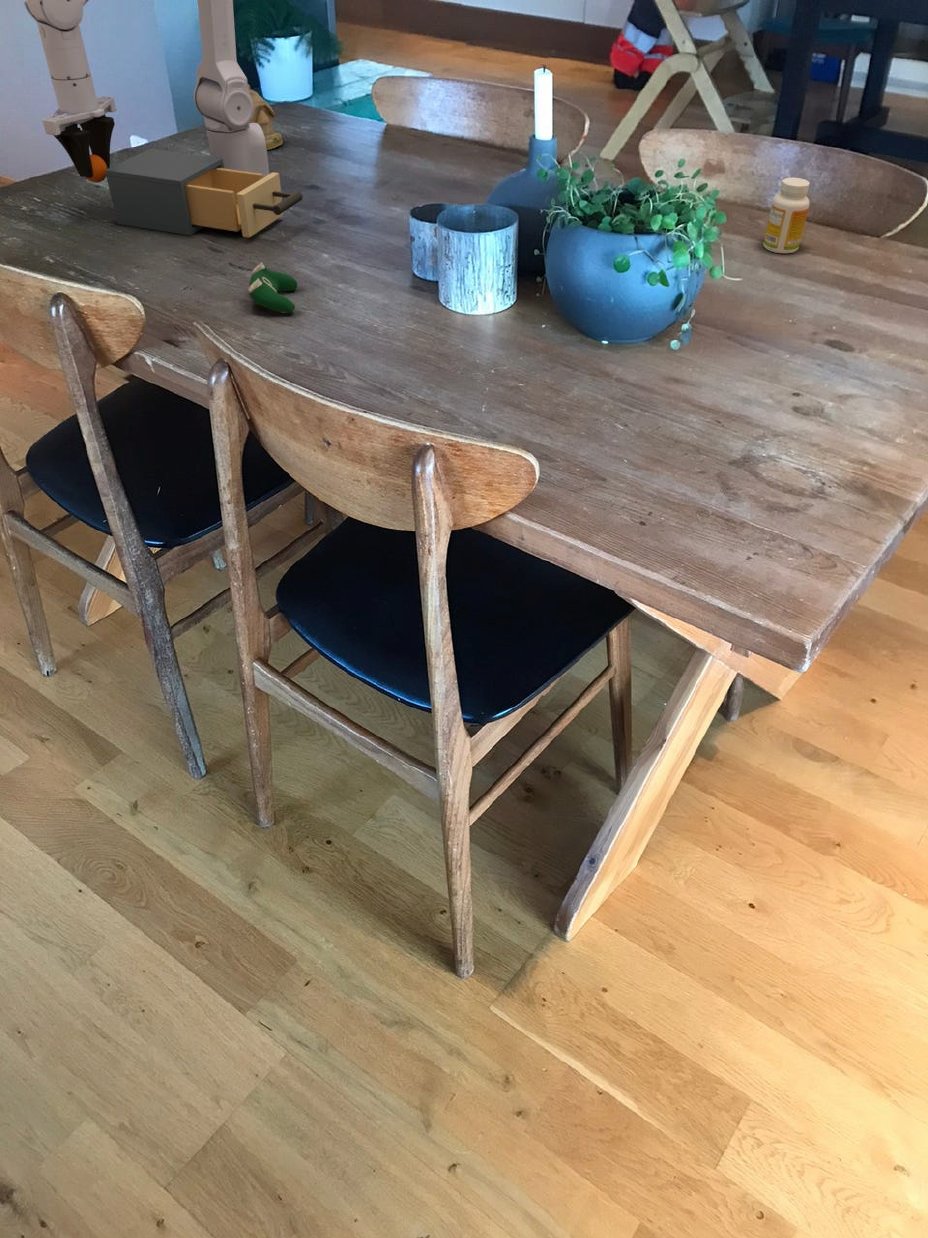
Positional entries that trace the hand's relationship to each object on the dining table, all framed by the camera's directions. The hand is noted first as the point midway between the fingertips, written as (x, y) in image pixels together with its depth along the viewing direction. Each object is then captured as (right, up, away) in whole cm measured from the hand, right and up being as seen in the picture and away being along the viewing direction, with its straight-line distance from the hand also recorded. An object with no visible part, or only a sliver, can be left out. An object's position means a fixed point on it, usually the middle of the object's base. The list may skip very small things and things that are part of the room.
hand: (94, 172), depth 147 cm
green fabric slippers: (+33, -28, -20) cm, 47 cm away
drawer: (+24, -8, -1) cm, 26 cm away
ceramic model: (+18, +22, +34) cm, 45 cm away
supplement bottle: (+108, -14, -4) cm, 109 cm away
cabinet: (+12, -6, +3) cm, 13 cm away
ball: (0, 0, 0) cm, 1 cm away
